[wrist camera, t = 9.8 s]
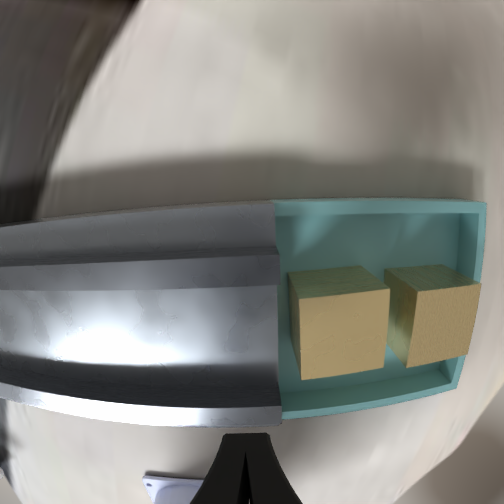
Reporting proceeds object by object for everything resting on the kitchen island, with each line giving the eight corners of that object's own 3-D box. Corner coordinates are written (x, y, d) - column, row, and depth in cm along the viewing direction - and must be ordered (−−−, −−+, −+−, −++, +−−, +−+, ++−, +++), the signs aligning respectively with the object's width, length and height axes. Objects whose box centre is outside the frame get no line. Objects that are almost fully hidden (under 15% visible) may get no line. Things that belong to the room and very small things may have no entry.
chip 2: (378, 333, 18) (433, 325, 18) (406, 368, 14) (467, 354, 14) (384, 268, 17) (441, 264, 17) (417, 291, 13) (481, 283, 13)
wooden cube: (359, 331, 18) (383, 367, 14) (290, 340, 18) (301, 380, 14) (360, 265, 17) (390, 288, 13) (287, 271, 17) (299, 298, 13)
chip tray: (439, 370, 19) (456, 388, 17) (275, 394, 19) (278, 419, 17) (461, 199, 17) (486, 202, 14) (269, 199, 17) (273, 202, 14)
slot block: (275, 394, 19) (281, 447, 14) (18, 377, 19) (-13, 409, 14) (269, 199, 17) (278, 206, 12) (-20, 227, 17) (-66, 240, 12)
